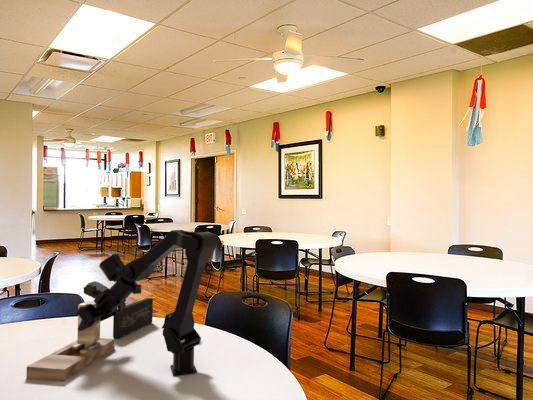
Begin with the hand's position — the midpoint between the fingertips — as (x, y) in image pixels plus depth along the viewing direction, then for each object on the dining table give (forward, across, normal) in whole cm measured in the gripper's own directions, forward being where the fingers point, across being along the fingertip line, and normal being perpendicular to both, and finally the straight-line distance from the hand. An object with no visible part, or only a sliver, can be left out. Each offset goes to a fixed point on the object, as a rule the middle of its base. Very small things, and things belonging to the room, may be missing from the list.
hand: (85, 327), depth 123 cm
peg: (+4, 0, +6) cm, 8 cm away
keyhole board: (+5, +6, +7) cm, 10 cm away
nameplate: (+4, -24, +9) cm, 26 cm away
